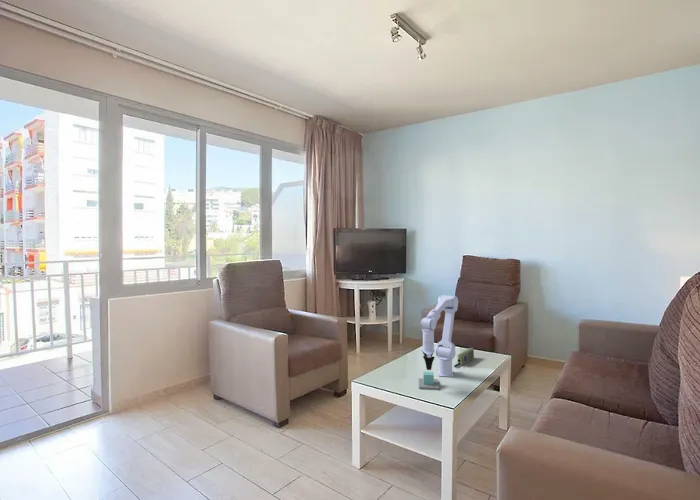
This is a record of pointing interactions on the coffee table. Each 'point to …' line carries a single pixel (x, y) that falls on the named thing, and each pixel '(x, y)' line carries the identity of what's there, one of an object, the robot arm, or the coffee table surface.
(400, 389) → the coffee table surface
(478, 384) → the coffee table surface
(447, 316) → the robot arm
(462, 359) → the handheld radio
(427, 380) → the teal block
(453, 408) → the coffee table surface
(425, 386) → the slate mat
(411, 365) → the coffee table surface
